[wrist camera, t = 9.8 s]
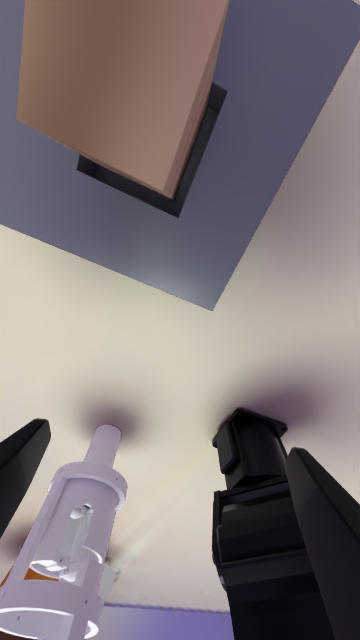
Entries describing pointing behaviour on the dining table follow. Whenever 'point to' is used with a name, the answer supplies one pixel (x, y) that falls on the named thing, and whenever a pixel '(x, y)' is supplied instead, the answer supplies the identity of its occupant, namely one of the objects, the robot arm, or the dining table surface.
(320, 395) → the dining table surface
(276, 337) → the dining table surface
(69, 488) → the windowed cylinder housing
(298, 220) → the dining table surface
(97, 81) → the oak peg
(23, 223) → the socket block
